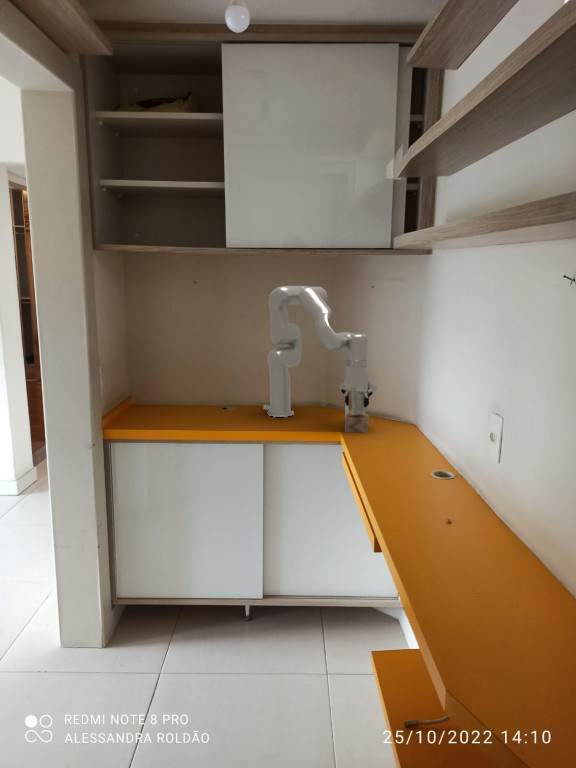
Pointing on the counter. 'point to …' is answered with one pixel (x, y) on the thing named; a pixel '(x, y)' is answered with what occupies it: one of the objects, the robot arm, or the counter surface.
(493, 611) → the counter surface
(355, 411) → the skincare box
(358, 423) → the brown square block
